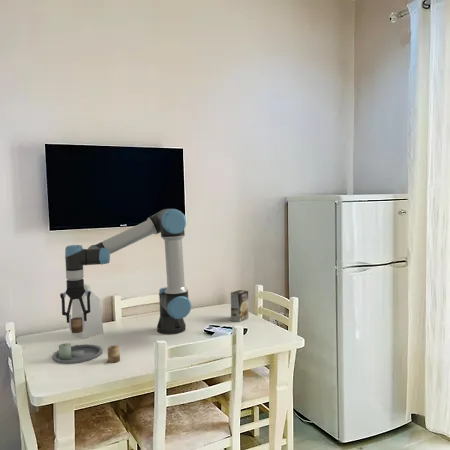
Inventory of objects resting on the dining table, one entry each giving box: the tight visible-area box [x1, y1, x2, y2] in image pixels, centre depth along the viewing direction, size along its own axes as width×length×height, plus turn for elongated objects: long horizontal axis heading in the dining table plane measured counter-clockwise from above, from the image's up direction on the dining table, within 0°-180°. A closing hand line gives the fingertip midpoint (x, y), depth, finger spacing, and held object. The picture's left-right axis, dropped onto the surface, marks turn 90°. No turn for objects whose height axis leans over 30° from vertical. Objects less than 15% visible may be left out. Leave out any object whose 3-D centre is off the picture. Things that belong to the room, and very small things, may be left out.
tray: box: [51, 343, 103, 365], centre depth 192 cm, size 21×21×2 cm
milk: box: [71, 283, 104, 340], centre depth 223 cm, size 12×12×26 cm
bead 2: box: [70, 317, 83, 334], centre depth 197 cm, size 5×5×6 cm
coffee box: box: [230, 289, 250, 323], centre depth 244 cm, size 9×6×16 cm
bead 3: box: [107, 345, 121, 364], centre depth 185 cm, size 5×5×6 cm
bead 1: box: [58, 342, 72, 360], centre depth 187 cm, size 5×5×6 cm
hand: (77, 328), depth 197 cm, fingers closed on bead 2, 5 cm apart
